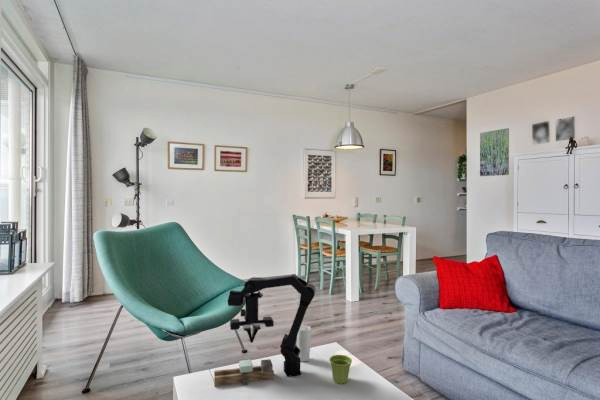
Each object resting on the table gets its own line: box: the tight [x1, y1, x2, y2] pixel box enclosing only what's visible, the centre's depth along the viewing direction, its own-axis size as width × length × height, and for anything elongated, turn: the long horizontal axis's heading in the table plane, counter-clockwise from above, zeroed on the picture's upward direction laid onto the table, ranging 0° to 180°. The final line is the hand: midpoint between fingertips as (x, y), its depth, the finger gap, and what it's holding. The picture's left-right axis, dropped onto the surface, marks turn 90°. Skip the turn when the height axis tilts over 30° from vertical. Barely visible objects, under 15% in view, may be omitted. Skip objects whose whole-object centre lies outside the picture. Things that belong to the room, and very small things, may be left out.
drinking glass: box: [296, 324, 312, 363], centre depth 167 cm, size 7×7×15 cm
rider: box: [238, 359, 254, 373], centre depth 148 cm, size 5×6×4 cm
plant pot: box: [329, 354, 353, 385], centre depth 148 cm, size 9×9×9 cm
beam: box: [213, 358, 275, 387], centre depth 148 cm, size 24×9×6 cm, turn 104°
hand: (251, 342), depth 157 cm, fingers closed
